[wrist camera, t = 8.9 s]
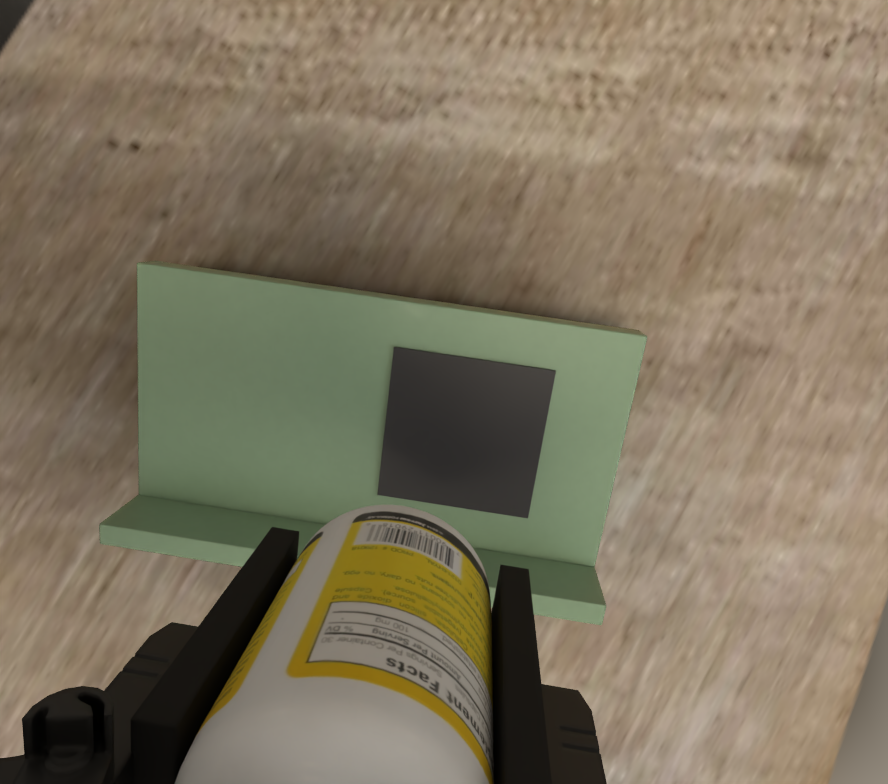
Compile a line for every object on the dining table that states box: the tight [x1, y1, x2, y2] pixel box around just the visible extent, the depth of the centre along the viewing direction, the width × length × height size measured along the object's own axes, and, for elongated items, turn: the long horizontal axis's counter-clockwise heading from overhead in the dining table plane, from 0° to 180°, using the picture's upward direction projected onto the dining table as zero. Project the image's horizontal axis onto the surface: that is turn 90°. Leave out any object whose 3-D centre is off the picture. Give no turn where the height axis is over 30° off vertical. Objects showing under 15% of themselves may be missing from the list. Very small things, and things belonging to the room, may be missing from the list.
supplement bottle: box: [175, 505, 494, 784], centre depth 12 cm, size 5×5×10 cm
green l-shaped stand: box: [99, 261, 647, 625], centre depth 28 cm, size 12×22×8 cm, turn 82°
